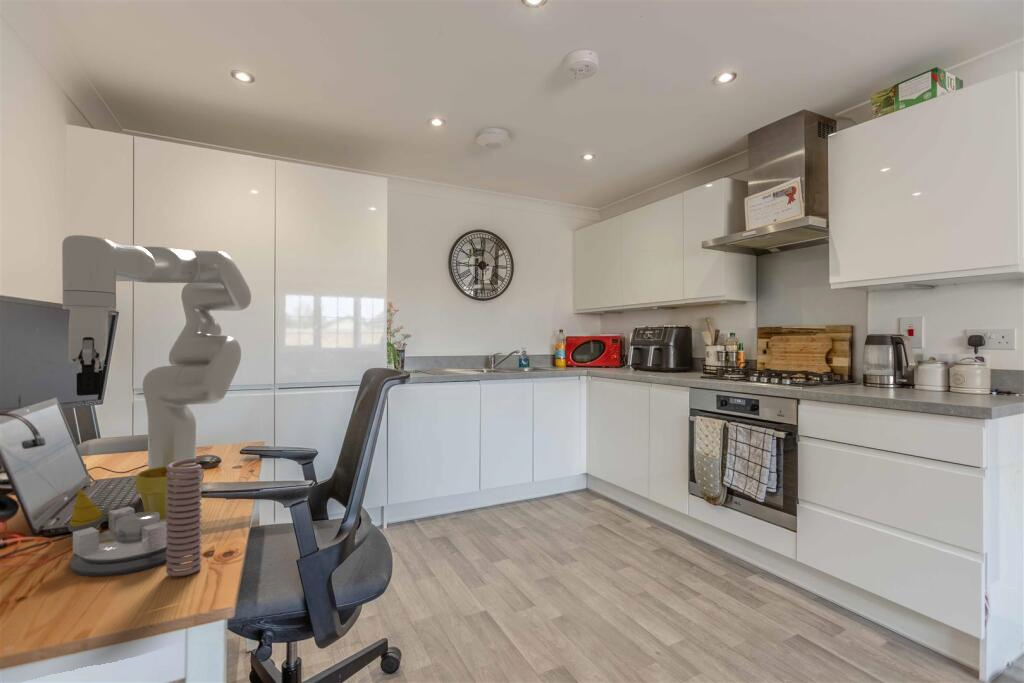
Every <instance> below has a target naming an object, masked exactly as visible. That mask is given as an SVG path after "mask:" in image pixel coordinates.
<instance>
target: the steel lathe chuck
mask: <svg viewBox="0 0 1024 683" xmlns="http://www.w3.org/2000/svg"><path fill="white" fill-rule="evenodd" d="M173 512H175V511H173ZM166 524H167V521H166V519H162V520H160V514H159V512H155V511H147V512H145V511H140V512H139V511H138V512H135V508H133V507H132V506H125V507H121V508H117V509H113V510H108V530H106V531H105V530H104V532H100V530H98V529H97V528H93V527H90V528H86V529H83V530H79V531H75V532H72V552H73V553H75V554H77V555H78V556H79V559H81V560H82V561H84V562H89V563H113V562H121V561H127V560H132V559H137V558H141V557H145V556H149V555H152V554H155V553H158V552H161V551H164V550H166V549H167V547H166V543H167V540H166V537H167V534H166V530H167V528H166ZM172 525H173V524H172ZM190 531H191V530H190ZM186 538H188V537H186ZM172 544H173V543H172Z"/></svg>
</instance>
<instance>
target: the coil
mask: <svg viewBox="0 0 1024 683" xmlns="http://www.w3.org/2000/svg"><path fill="white" fill-rule="evenodd" d="M200 461H201V459H200V458H199V457H196V458H189V459H183V460H179V461H175V462H172V463H170V464H168V465H167V467H166V470H167V471H168V472H167V473H166V476H167V477H168V478H167V479H166V483H167V486H166V489H167V490H168V491H167V492H166V495H167V498H166V502H167V505H166V508H167V509H168V510H167V511H166V515H167V518H166V521H167V524H166V528H167V530H166V534H167V537H166V540H167V543H166V547H167V549H166V553H167V556H166V560H167V562H166V563H165V566H166V568H165V572H166V574H167V575H169V576H171V577H182V576H183V577H184V576H189V575H192V574H194V573H197V572H198V571H199V570H201V569H202V566H203V565H202V559H203V558H202V557H201V556H202V551H201V550H202V545H201V543H202V538H201V537H202V535H203V534H202V532H201V531H202V526H201V525H202V520H200V519H202V517H203V515H202V514H201V513H202V512H203V511H202V508H201V507H202V504H203V503H202V502H201V500H202V492H203V491H201V489H199V488H201V486H202V485H201V484H202V483H201V481H202V477H201V475H202V471H201V469H202V467H203V466H202V465H201V464H199V463H200ZM188 463H196V464H190V465H184V466H179V467H176V468H175V466H178V465H182V464H188ZM173 473H177V474H173ZM174 479H177V480H174ZM173 486H175V487H173ZM173 492H175V493H173ZM174 498H175V499H174ZM173 505H174V506H173ZM173 511H175V512H173ZM172 524H173V525H172ZM190 530H191V531H190ZM186 537H188V538H186ZM172 543H173V544H172ZM186 543H189V544H186ZM183 544H184V545H183ZM187 549H191V550H187ZM183 550H187V551H183Z"/></svg>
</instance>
